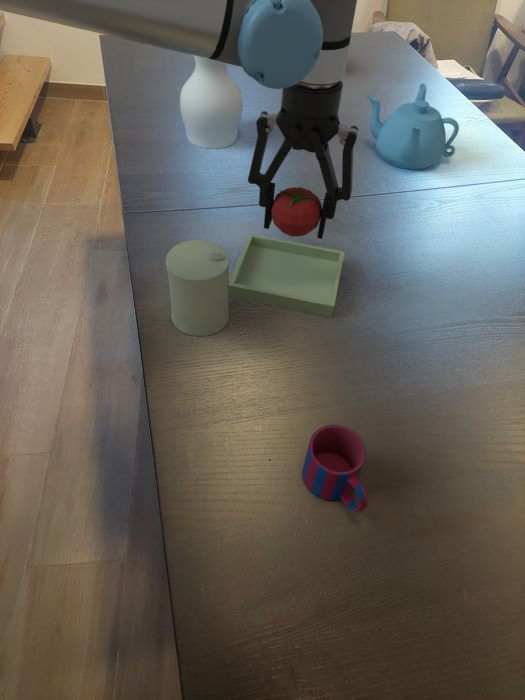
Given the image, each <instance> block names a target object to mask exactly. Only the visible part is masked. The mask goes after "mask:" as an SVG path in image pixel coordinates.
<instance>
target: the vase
mask: <svg viewBox="0 0 525 700" xmlns="http://www.w3.org/2000/svg"><path fill="white" fill-rule="evenodd" d="M192 56H193V58H194V62H195V67H194V69H193V72H192V74H191V75H190V76H189V78H188V79H187V81H186V82H185V83H184V84H183V86H182V88H181V91H180V98H179V109H180V114H181V118H182V121H183V124H184V125H183V126H184V128H185V133H186V139H187V141H188V142H189V143H190V144H191V145H194V146H196V147H198V148H202V149H209V150H210V149H211V150H212V149H213V150H215V149H216V150H218V149H224V148H228V147H230V146H231V145H234V144H235V143H236V141H237V140H238V134H239V133H238V132H239V128H240V124H241V121H242V117H243V116H242V115H243V110H244V102H243V95H242V91H241V90H240V89H241V88H240V87H239V86H238V84H237V82H235V80H234V79H233V77H232V76H231V75H230V73H229V71H228V68H227V64H228V63H224V62H220V61H216V60H212V59H208V58H203V57H199V56H195V55H192Z"/></svg>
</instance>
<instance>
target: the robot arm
mask: <svg viewBox="0 0 525 700" xmlns="http://www.w3.org/2000/svg"><path fill="white" fill-rule="evenodd" d="M357 3H358V0H0V11H1V12H7V13H9V14H15V15H17V16H18V15H19V16H24V17H28V18H32V19H37V20H39V21H44V22H49V23H54V24H58V25H62V26H65V27H70V28H75V29H80V30H83V31H88V32H91V33H92V32H93V33H97V34H101V35H104V36H108V37H109V36H110V37H113V38H118V39H123V40H126V41H127V40H128V41H131V42H135V43H140V44H143V45H148V46H152V47H156V48H160V49H165V50H169V51H173V52H178V53H182V54H186V55H191V56H193V55H195V56H199V57H203V58H208V59H212V60H216V61H220V62H224V63H227V64H228V65H232V66H236V67H240V68H242V69H243V71H244V73H245V74H247V76H248V77H250V78H252V79H253V80H254V81H256V82H257V83H258V84H259V85H261V86H263V87H265V88H268V89H273V90H274V89H275V90H281V89H282V93H281V102H280V103H281V104H280V110H279V111H278V113H275V114H274V113H272V114H271V113H268V112H267V111H265V110H264V111H261V112H260V114H259V116H258V118H257V120H256V123H255V125H256V132H257V138H256V142H255V147H254V150H253V156H252V160H251V164H250V167H249V168H250V169H249V174H248V177H247V183H249V184H250V185H256V186H258V188H259V197H258V205H259V207H260V208H264V222H263V229H267V230H269V228H270V225H271V223H272V222H273V220H272V215H271V206H272V204H273V202H274V199H275V191H276V182H272V181H273V179H274V178H275V176H276V174H277V172H278V171H279V169H280V167H281V166H282V164H283V162H284V160H285V159H286V157H287V156H288V155H289V153H290V151H291V149H292V150H296V151H303V150H304V151H306V152H308V153H313V154H315V157H316V161H318V165H319V168H320V171H321V175H322V179H323V183H324V186H325V190H326V191H325V194H324V197H323V202H322V213H321V218H320V221H319V224H318V225H319V227H318V229H317V230H318V231H317V237H316V238H317V239H320V240H322V239H323V236H324V232H325V229H326V222H327V219H328V220H333V219H334V217H335V213H336V209H337V204H338V202H339V201H341V200H343V201H345V202H346V201H349V200H350V199H351V196H352V191H353V171H354V170H353V169H354V147H355V144H356V142H357V139H358V134H359V128H358V126H356V125H351V126H350V127H349V126H347V125H343V124H341V122H340V119H339V109H340V104H341V98H342V91H343V88H344V83H343V81H342V80H343V79H344V78H345V74H346V69H347V68H346V67H347V63H348V57H349V52H350V47H351V38H352V31H353V26H354V20H355V14H356V9H357ZM276 125H277V127H278V129H279V130H280V133H281V134H282V136H283V138H284V139H283V141H282V143H281V144H280V146H279V148H278V149H277V152H276V154H275V155H274V157H273V159H272V161H271V162H270V164H269V165H268V167H267V169H266V171H265V172H264V173H262V172H261V169H262V165H263V161H264V157H265V153H266V148H267V144H268V140H269V136H270V133H272V132H273V130H274V129H275V126H276ZM335 136H338V137H339V143H340V144H341V145H342V146H343V149H342V158H341V159H342V163H341V164H342V165H341V169H342V170H341V186H340V187H339V183H338V180H337V176H336V175H337V174H336V172H335V167H334V164H333V159H332V157H331V153H330V145H329V143H330V141H332V139H333V138H334V137H335Z"/></svg>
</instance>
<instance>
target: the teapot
mask: <svg viewBox="0 0 525 700" xmlns="http://www.w3.org/2000/svg"><path fill="white" fill-rule="evenodd" d="M426 94H427V85H426V83H421V84H420V85H419V88H418V92H417V94H416V97H415V99H414V102H407V103H406V102H405V103H403V104H401V105H400V106H398V107H397V108H396V109H394V111H392V112H391V114H390V115H389V116H388V117H387V118H386V120H385V121H383V122H382V121H381V119H380V114H381V113H380V111H381V103H380V101H379V100H378V99H377V98H376V97H374V96H373V95H371V94H366V97H367V99H368V100H369V101H370V102H371V115H370V121H369V130H370V134H371V135H372V137H373V138H374V140H375V147H376V150H377V152H378V154H379V156H380V157H381V159H383V160H384V161H385V162H386V163H388V164H390V165H392V166H394V167H398V168H400V169H405V170H413V171H417V170H419V171H420V170H425V169H428V168H430V167H432V166H434V165H435V164H437V163H438V162H440V160H441V159H442V158H443V157H445V158H450V157H452V156H453V155H454V154H455V153H456V148H455V146H454V145H451V144H452V143H453V142H454V140H455V139H456V138H457V136H458V133H459V130H460V125H459V122H457V120H456V119H454V118H452V117H442V114H441V113H440V111H439V110H437V109H436V108H435V107H433V106H431V105H430V103H429V101H426ZM445 124H449V125H451V126H453V130H452V131H453V132H452V134H451V135H450V137H449V138H448V140H447V135H446V128H445ZM448 150H450V151H448Z"/></svg>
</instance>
